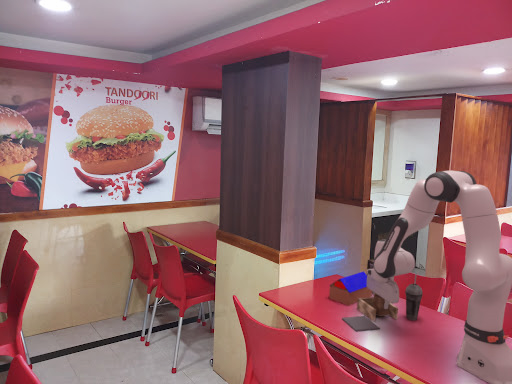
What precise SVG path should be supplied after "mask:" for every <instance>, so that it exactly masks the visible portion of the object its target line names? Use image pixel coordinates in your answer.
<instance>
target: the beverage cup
mask: <svg viewBox="0 0 512 384" xmlns="http://www.w3.org/2000/svg"><path fill="white" fill-rule="evenodd" d="M414 275H415V276H414V283H411V284H408V286H406V288H405V291H404V293H405V305H406V306H405V318H406V319H408V320H410V321H417V320H418V316H419V312H420V306H421V301H422V298H423V289H422V287H421V286H420V285H419V284H417V283H416V282H417V273H415V274H414Z"/></svg>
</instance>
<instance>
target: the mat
mask: <svg viewBox="0 0 512 384" xmlns="http://www.w3.org/2000/svg"><path fill="white" fill-rule="evenodd" d="M341 320H342V321H344V322H345V323H346V324H347V325H348V327H350V328H351V329H352V330H353V331H355V332H365V331H376V330H380V329H381V327H380V326H378V325H377V324H376V323H375V322H374V321H372V320H371V319H370V318H368V317H367V316H366V315H360V316H359V315H358V316H348V317H345V316H344V317H342V318H341Z"/></svg>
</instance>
